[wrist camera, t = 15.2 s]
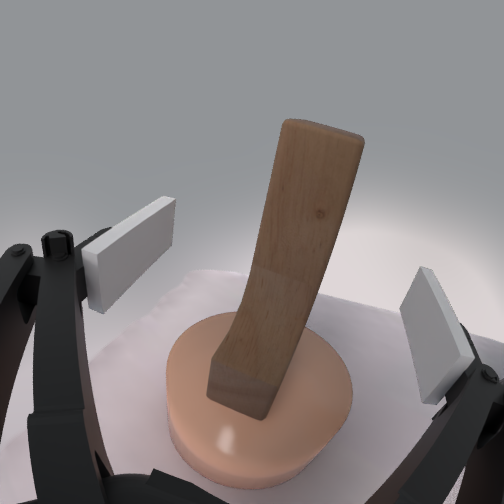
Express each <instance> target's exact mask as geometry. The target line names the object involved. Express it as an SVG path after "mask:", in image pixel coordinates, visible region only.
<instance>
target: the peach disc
mask: <svg viewBox="0 0 504 504" xmlns="http://www.w3.org/2000/svg"><path fill="white" fill-rule="evenodd" d="M236 313H237V312H228V313H223V314H218V315H215V316H211V317H208V318H206V319H204V320H201V321H199V322H198V323H196V324H194V325H192V326H191V327H190V328H188V329H187V330H186V331H185V332H184V333H183V334H182V335H181V336H180V337H179V338H178V339H177V341H176V342H175V344H174V345H173V347H172V349H171V351H170V354H169V357H168V361H167V368H166V387H167V413H168V427H169V432H170V436H171V439H172V442H173V444H174V446H175V448H176V450H177V451H178V453H179V454H180V456H181V457H182V458H183V459H184V461H185V462H186V463H187V464H188V465H189V466H190V467H191V468H193V469H194V470H195V471H196V472H198V473H199V474H201V475H202V476H204V477H205V478H207V479H209V480H211V481H213V482H215V483H218V484H221V485H224V486H228V487H232V488H237V489H263V488H268V487H273V486H276V485H279V484H282V483H284V482H286V481H288V480H290V479H292V478H293V477H295V476H296V475H298V474H299V473H300V472H301V471H302V470H303V469H304V468H305V467H306V466H307V465H308V464H309V463H310V462H311V461H312V460H313V459H314V458H315V457H316V456H317V455H318V453H319V452H320V451H321V450H322V449H323V448H324V447H325V446H326V444H327V443H328V442H329V441H330V440H331V439H332V437H333V436H334V435H335V434H336V433H337V432H338V430H339V429H340V428H341V426H342V425H343V423H344V422H345V420H346V418H347V416H348V414H349V412H350V408H351V404H352V395H353V391H352V383H351V379H350V375H349V373H348V370H347V368H346V366H345V364H344V362H343V360H342V359H341V357H340V356H339V355H338V353H337V352H336V351H335V350H334V349H333V348H332V347H331V345H330V344H329V343H327V342H326V341H325V340H324V339H323V338H322V337H320V336H319V335H317V334H316V333H315V332H313V331H311V330H310V329H308V328H306V327H304V330H303V333H302V335H301V338H300V340H299V343H298V345H297V348H296V350H295V352H294V355H293V357H292V360H291V362H290V365H289V367H288V369H287V372H286V374H285V376H284V379H283V381H282V383H281V386H280V388H279V390H278V392H277V395H276V397H275V399H274V401H273V404H272V406H271V408H270V410H269V412H268V415H267V417H266V418H265V419H264V420H262V421H260V420H256V419H254V418H251V417H249V416H246V415H244V414H242V413H239V412H237V411H235V410H232V409H230V408H228V407H226V406H223V405H221V404H219V403H217V402H215V401H213V400H210V399H209V398H208V397H207V396H206V392H207V385H208V378H209V371H210V365H211V358H212V356H213V355H214V353H215V352H216V350H217V349H218V347H219V345H220V344H221V342H222V341H223V339H224V338H225V336H226V334H227V333H228V331H229V330H230V327H231V325H232V323H233V320H234V318H235V316H236Z"/></svg>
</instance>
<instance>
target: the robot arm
mask: <svg viewBox="0 0 504 504" xmlns="http://www.w3.org/2000/svg"><path fill="white" fill-rule="evenodd" d="M175 203H176V199H174V198H170V197H166V196H162V197H161V198H159V199H157V200H156V201H154V202H153V203H151V204H149V205H147V206H146V207H144V208H142V209H141V210H139V211H138V212H136V213H135V214H133V215H131V216H130V217H128V218H127V219H125V220H124V221H122V222H121V223H119V224H117V225H116V226H115V227H113V228H112V227H109V228H105V229H102V230H100V231H98V232H97V233H95V234H94V235H93V236H91V237H89V238H88V239H87V240H85V241H83V242H82V243H80V244H79V245H78V246H76V247H74V242H73V235H72V233H71V232H69V231H66V230H55V231H51V232H48V233H46V234H45V235H44V236H43V237H42V238H41V241H42V249H43V254H44V257H37V256H33V252H32V248H31V246H30V245H28V244H17V245H16V244H15V245H13V246H12V247H10V248H8V249H7V250H6V251H5V253H4V254H3V255H2V257H1V258H0V442H1V437H2V431H3V426H4V422H5V417H6V413H7V408H8V404H9V400H10V397H11V393H12V389H13V385H14V382H15V378H16V375H17V371H18V369H19V365H20V362H21V359H22V356H23V353H24V350H25V347H26V344H27V341H28V338H29V336H30V333H31V331H32V328H33V325H34V323H35V333H34V352H33V398H34V399H33V400H34V412H33V413H32V414H29V416H28V418H27V429H28V441H29V450H30V458H31V466H32V472H33V478H34V484H35V490H36V495H37V499H35V500H31V501H27V502H23V503H18V504H229V503H227V502H225V501H223V500H221V499H219V498H217V497H215V496H213V495H212V494H210V493H208V492H206V491H205V490H203V489H201V488H199V487H198V486H196V485H194V484H193V483H191V482H188V481H185V480H182V479H179V478H177V477H174V476H171V475H169V474H166V473H164V472H161V471H159V470H156V469H153V471H152V473H151V475H145V474H119V475H114V473H113V470H112V467H111V465H110V462H109V459H108V457H107V454H106V451H105V447H104V443H103V439H102V435H101V431H100V427H99V422H98V418H97V413H96V408H95V403H94V397H93V392H92V386H91V380H90V374H89V367H88V359H87V351H86V343H85V333H84V321H83V310H82V309H83V308H82V301H83V300H84V299H85V298H86V297H87V298H88V305H89V308H90V309H92V310H94V311H97V312H99V313H101V314H104V313H105V312H106V311H107V310H108V309H109V308H110V307H111V306H112V305H113V304H114V303H115V302H116V301H117V300H118V299H119V297H121V296H122V294H123V293H124V292H125V291H126V290H127V289H128V288H129V287H130V286H131V285H132V284H133V283H134V282H135V281H136V280H137V279H138V278H139V277H140V276H141V275H142V274H143V273H144V272H145V271H146V270H147V269H148V268H149V267H150V266H151V265H152V264H153V263H154V262H155V261H156V260H157V259H158V258H159V257H160V256H161V255H162V254H163V253H165V252H166V251H167V250H168V249H169V248H170V247H171V246H172V238H173V225H174V214H175ZM400 312H401V315H402V319H403V323H404V326H405V330H406V334H407V337H408V341H409V345H410V349H411V353H412V358H413V362H414V366H415V371H416V375H417V380H418V385H419V390H420V395H421V400H422V403H425V404H434V405H437V404H438V403H439V401H440V400H441V399H442V398H443V397H444V396H445V397H446V401H447V403H446V404H445V405H444V406H443V407H442V408H441V409H440V410H439V411H438V412H437V413H436V414H435V416H434V417H433V418H432V420H433V422H432V423H431V425H430V426H429V427H428V429H427V430H426V432H425V433H424V434H423V436H422V437H421V439H420V440H419V441H418V443H417V444H416V445H415V447H414V448H413V449H412V450H411V452H410V453H409V454H408V456H407V457H406V458H405V459H404V460H403V462H402V463H401V464H400V465H399V467H398V468H397V469H396V470H395V471H394V472H393V474H392V475H391V476H390V477H389V478H388V479H387V480H386V481H385V483H384V484H383V485H382V486H381V487H380V488H379V489H378V490H377V491H376V492H375V493H374V494H373V495H372V496H371V497H370V498H369V500H368V501H367V502H366V503H365V504H443V502H444V501H445V499H446V497H447V496H448V494H449V493H450V491H451V489H452V488H453V486H454V484H455V482H456V481H457V479H458V477H459V475H460V474H461V472H462V470H463V468H464V466H466V468H465V472H464V476H463V480H462V483H461V487H460V490H459V493H458V496H457V500H456V503H455V504H504V378H503V379H502V380H500V381H499V378H498V375H497V374H496V372H495V371H494V370H493V369H492V368H491V367H489V366H488V365H485V364H482V362H481V360H480V358H479V355H478V353H477V351H476V348H475V346H474V344H473V342H472V340H471V337H470V335H469V333H468V331H467V330H466V329H465V327H464V326H463V325H462V324H461V323H459V321H458V319H457V317H456V314H455V312H454V310H453V308H452V306H451V304H450V302H449V300H448V299H447V297H446V295H445V293H444V291H443V289H442V287H441V285H440V283H439V282H438V280H437V278H436V276H435V274H434V272H433V271H432V270H431V269H428V268H425V267H422V266H420V268H419V270H418V272H417V274H416V276H415V279H414V281H413V282H412V285H411V287H410V289H409V291H408V293H407V295H406V297H405V299H404V301H403V303H402V305H401V306H400Z"/></svg>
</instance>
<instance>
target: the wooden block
mask: <svg viewBox="0 0 504 504" xmlns="http://www.w3.org/2000/svg"><path fill="white" fill-rule="evenodd" d="M364 144H365V142H364V138H363V137H362V136H360V135H357V134H354V133H351V132H348V131H344V130H341V129H337V128H334V127H330V126H327V125H323V124H319V123H315V122H312V121H308V120H301V119H286V120H285V121H284V122H283V124H282V128H281V132H280V137H279V142H278V147H277V151H276V155H275V160H274V165H273V169H272V174H271V179H270V183H269V188H268V193H267V198H266V202H265V206H264V211H263V216H262V220H261V225H260V229H259V234H258V239H257V243H256V248H255V253H254V257H253V262H252V266H251V271H250V275H249V278H248V282H247V285H246V289H245V292H244V295H243V299H242V302H241V304H240V306H239V309H238V311H237V313H236V316H235V318H234V320H233V323H232V325H231V327H230V330H229V331H228V333H227V334H226V336H225V338H224V339H223V341H222V342H221V344H220V345H219V347H218V349H217V350H216V352H215V353H214V355H213V356H212V358H211V365H210V371H209V378H208V385H207V392H206V396H207V397H208V398H209V399H210V400H213V401H215V402H217V403H219V404H221V405H223V406H226V407H228V408H230V409H232V410H235V411H237V412H239V413H242V414H244V415H246V416H249V417H251V418H254V419H256V420H260V421H262V420H264V419H265V418H266V417H267V415H268V412H269V410H270V408H271V406H272V404H273V401H274V399H275V397H276V395H277V392H278V390H279V388H280V386H281V383H282V381H283V379H284V376H285V374H286V372H287V369H288V367H289V365H290V362H291V360H292V357H293V355H294V352H295V350H296V348H297V345H298V343H299V340H300V338H301V335H302V333H303V330H304V327H305V325H306V322H307V320H308V317H309V315H310V312H311V309H312V307H313V304H314V301H315V299H316V296H317V293H318V290H319V288H320V285H321V282H322V279H323V277H324V273H325V271H326V268H327V265H328V262H329V259H330V256H331V253H332V250H333V248H334V245H335V241H336V238H337V235H338V232H339V229H340V226H341V223H342V220H343V217H344V214H345V210H346V207H347V204H348V200H349V197H350V193H351V190H352V187H353V183H354V180H355V177H356V173H357V169H358V166H359V163H360V159H361V155H362V152H363V148H364Z"/></svg>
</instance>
